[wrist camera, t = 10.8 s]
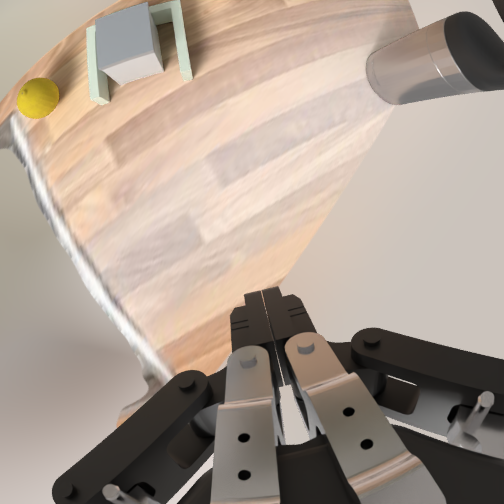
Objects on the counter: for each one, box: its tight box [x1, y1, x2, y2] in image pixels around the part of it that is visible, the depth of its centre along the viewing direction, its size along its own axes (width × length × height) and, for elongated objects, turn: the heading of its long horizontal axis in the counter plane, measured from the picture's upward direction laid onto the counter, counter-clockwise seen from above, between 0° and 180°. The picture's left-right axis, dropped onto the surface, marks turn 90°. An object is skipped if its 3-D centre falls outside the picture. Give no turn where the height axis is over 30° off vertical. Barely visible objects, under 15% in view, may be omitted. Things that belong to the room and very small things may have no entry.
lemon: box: [17, 78, 59, 119], centre depth 24 cm, size 6×6×8 cm
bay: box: [87, 0, 193, 105], centre depth 26 cm, size 12×11×4 cm
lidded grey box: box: [95, 2, 164, 85], centre depth 24 cm, size 6×7×8 cm
